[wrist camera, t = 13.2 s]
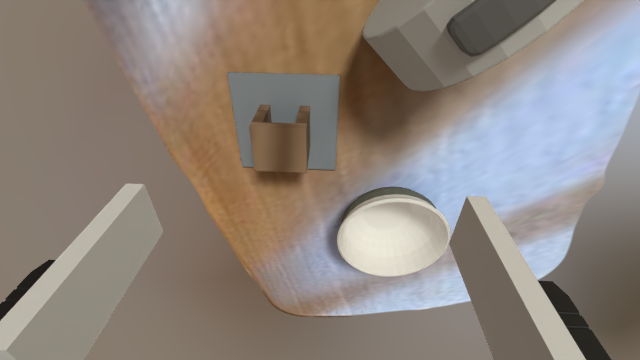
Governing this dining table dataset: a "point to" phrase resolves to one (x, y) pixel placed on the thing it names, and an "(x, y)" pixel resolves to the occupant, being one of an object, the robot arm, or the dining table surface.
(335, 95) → the mat
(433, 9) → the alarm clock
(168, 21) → the dining table surface
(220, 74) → the dining table surface
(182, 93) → the dining table surface
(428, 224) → the bowl
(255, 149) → the notched open box
